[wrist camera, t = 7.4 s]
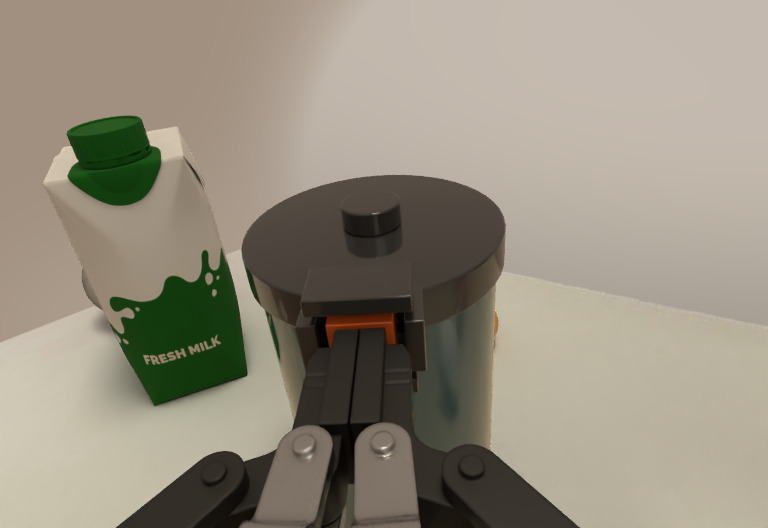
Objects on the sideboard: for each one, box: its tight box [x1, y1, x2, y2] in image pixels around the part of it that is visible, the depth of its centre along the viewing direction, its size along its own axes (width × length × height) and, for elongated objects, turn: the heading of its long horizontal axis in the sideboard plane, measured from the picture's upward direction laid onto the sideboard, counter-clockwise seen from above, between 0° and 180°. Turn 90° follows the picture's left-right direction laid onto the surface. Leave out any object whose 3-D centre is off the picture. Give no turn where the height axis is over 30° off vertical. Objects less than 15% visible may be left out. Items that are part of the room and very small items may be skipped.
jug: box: [242, 175, 506, 528], centre depth 25 cm, size 15×11×19 cm
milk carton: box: [43, 116, 247, 405], centre depth 36 cm, size 9×9×20 cm
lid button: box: [325, 313, 399, 347], centre depth 16 cm, size 1×2×2 cm
